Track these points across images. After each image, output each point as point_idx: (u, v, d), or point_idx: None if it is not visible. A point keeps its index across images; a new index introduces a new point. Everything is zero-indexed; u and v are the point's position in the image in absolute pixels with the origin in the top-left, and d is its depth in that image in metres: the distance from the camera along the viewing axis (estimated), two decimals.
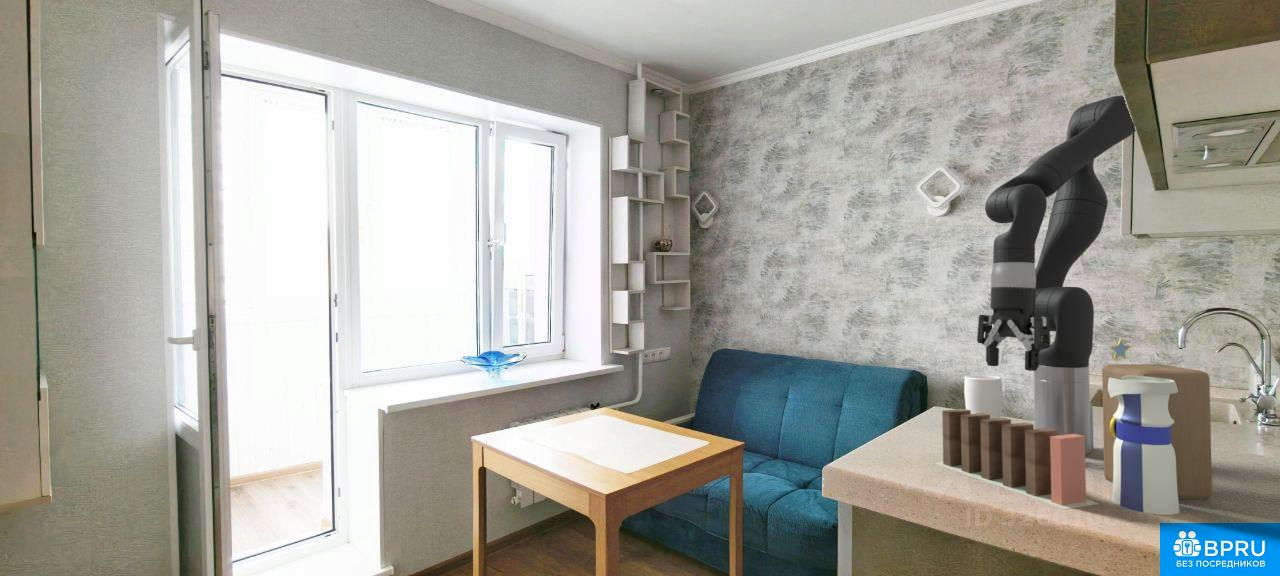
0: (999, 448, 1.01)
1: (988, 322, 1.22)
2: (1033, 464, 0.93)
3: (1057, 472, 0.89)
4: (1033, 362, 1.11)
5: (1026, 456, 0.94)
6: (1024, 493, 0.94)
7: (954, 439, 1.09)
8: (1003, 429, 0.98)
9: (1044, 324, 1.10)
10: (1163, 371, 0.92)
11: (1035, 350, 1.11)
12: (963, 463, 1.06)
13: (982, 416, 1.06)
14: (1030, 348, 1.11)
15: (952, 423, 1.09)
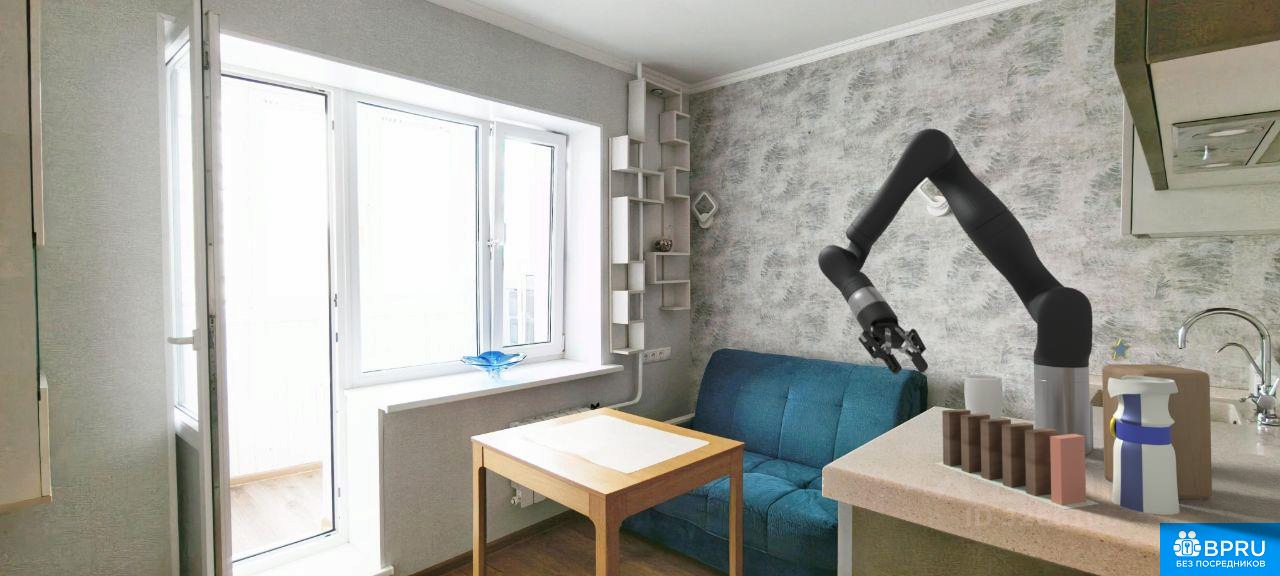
0: (999, 448, 1.01)
1: None
2: (1033, 464, 0.93)
3: (1057, 472, 0.89)
4: (888, 367, 1.21)
5: (1026, 456, 0.94)
6: (1024, 493, 0.94)
7: (954, 439, 1.09)
8: (1003, 429, 0.98)
9: (864, 339, 1.25)
10: (1163, 371, 0.92)
11: (882, 358, 1.22)
12: (963, 463, 1.06)
13: (982, 416, 1.06)
14: None
15: (952, 423, 1.09)
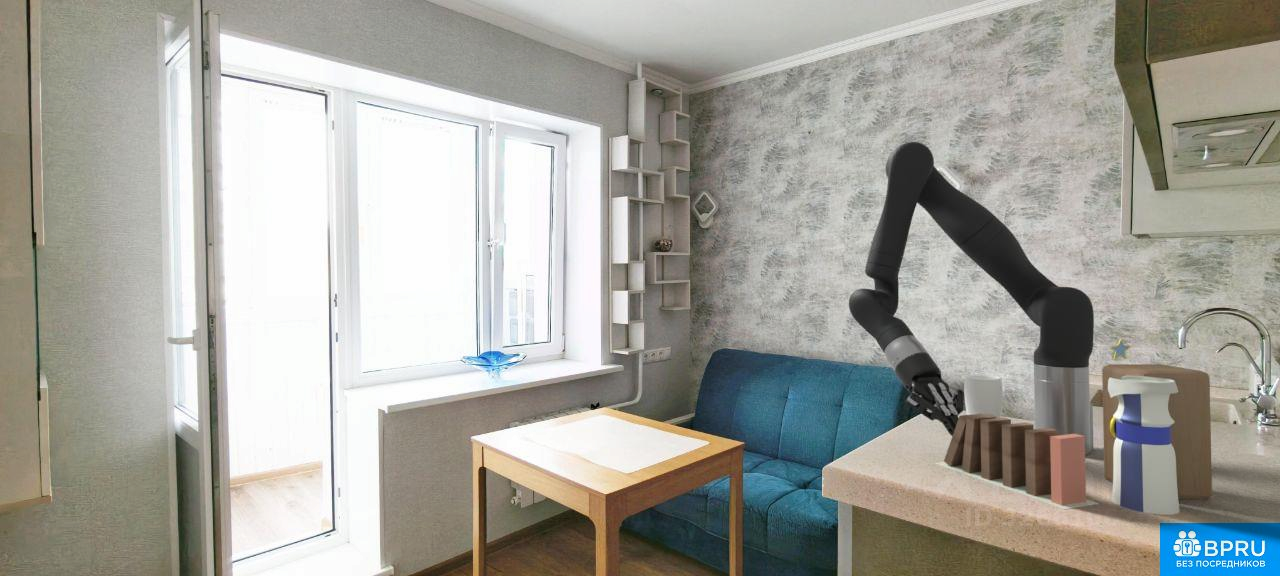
0: (999, 448, 1.01)
1: None
2: (1033, 464, 0.93)
3: (1057, 472, 0.89)
4: (948, 430, 1.10)
5: (1026, 456, 0.94)
6: (1024, 493, 0.94)
7: (962, 443, 1.07)
8: (1003, 429, 0.98)
9: (914, 403, 1.13)
10: (1163, 371, 0.92)
11: (940, 420, 1.12)
12: (964, 462, 1.06)
13: (988, 418, 1.04)
14: None
15: (965, 430, 1.06)
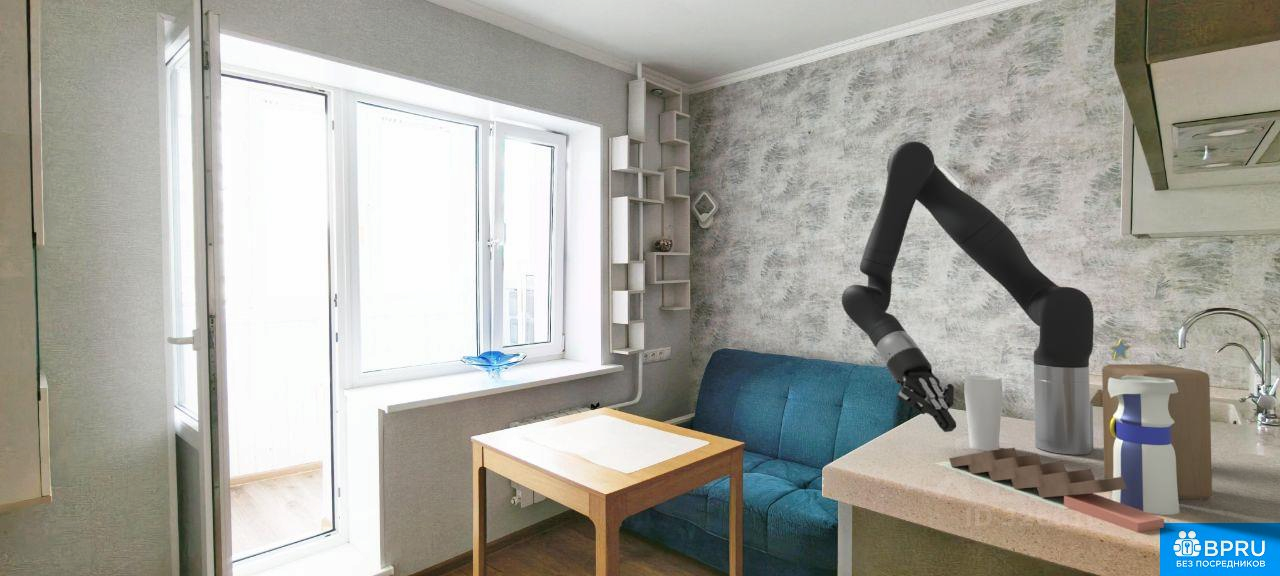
0: None
1: None
2: (1069, 493, 0.87)
3: (1097, 515, 0.84)
4: (938, 424, 1.12)
5: (1071, 484, 0.87)
6: (1024, 493, 0.94)
7: None
8: (1063, 474, 0.88)
9: (906, 397, 1.15)
10: (1163, 371, 0.92)
11: (931, 413, 1.14)
12: (974, 465, 1.03)
13: None
14: None
15: None
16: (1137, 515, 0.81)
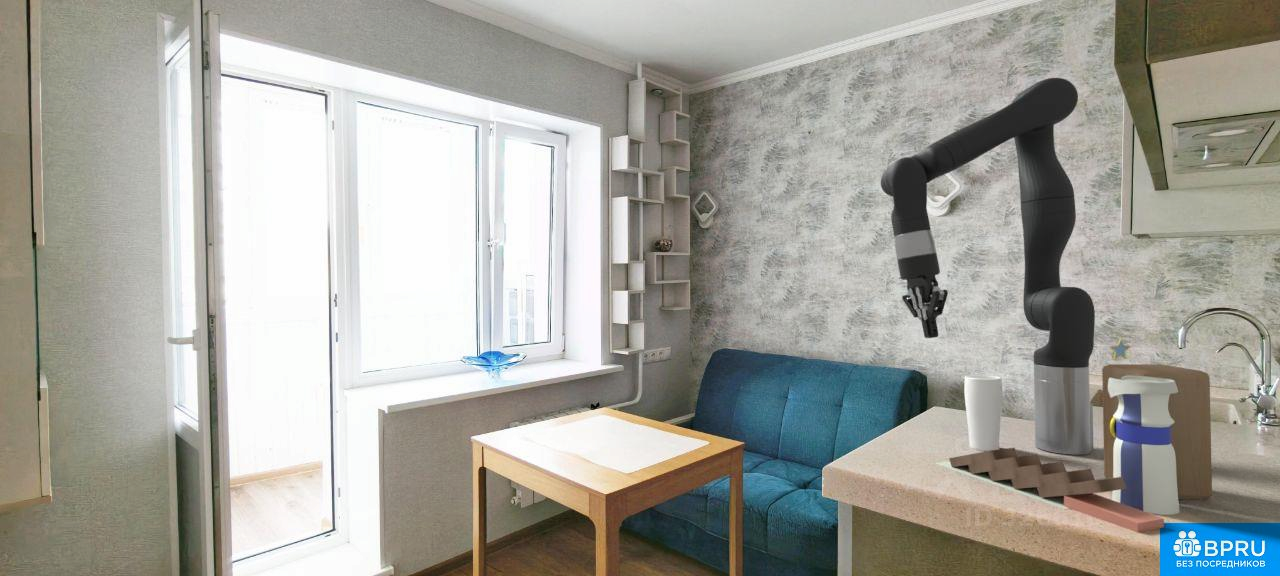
0: None
1: (910, 297, 1.26)
2: (1069, 493, 0.87)
3: (1097, 515, 0.84)
4: (931, 330, 1.20)
5: (1071, 484, 0.87)
6: (1024, 493, 0.94)
7: None
8: (1063, 474, 0.88)
9: (940, 298, 1.16)
10: (1163, 371, 0.92)
11: (930, 318, 1.20)
12: (974, 465, 1.03)
13: None
14: (925, 318, 1.20)
15: None
16: (1137, 515, 0.81)
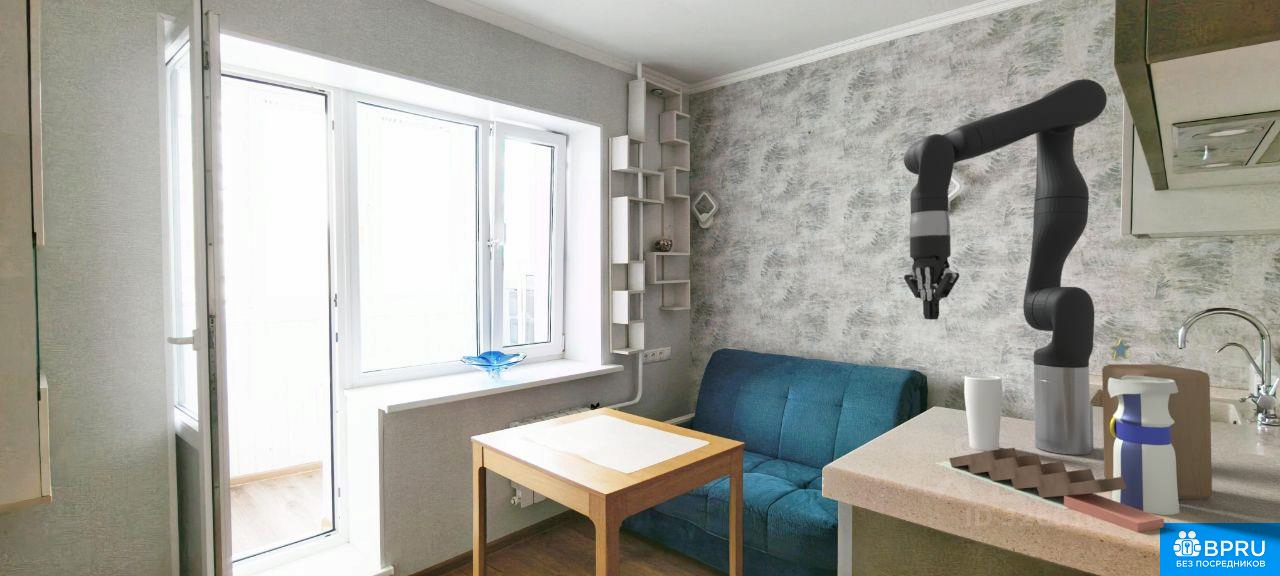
0: None
1: (914, 277, 1.25)
2: (1069, 493, 0.87)
3: (1097, 515, 0.84)
4: (934, 311, 1.20)
5: (1071, 484, 0.87)
6: (1024, 493, 0.94)
7: None
8: (1063, 474, 0.88)
9: (951, 281, 1.16)
10: (1163, 371, 0.92)
11: (935, 300, 1.19)
12: (974, 465, 1.03)
13: None
14: (930, 299, 1.20)
15: None
16: (1137, 515, 0.81)
